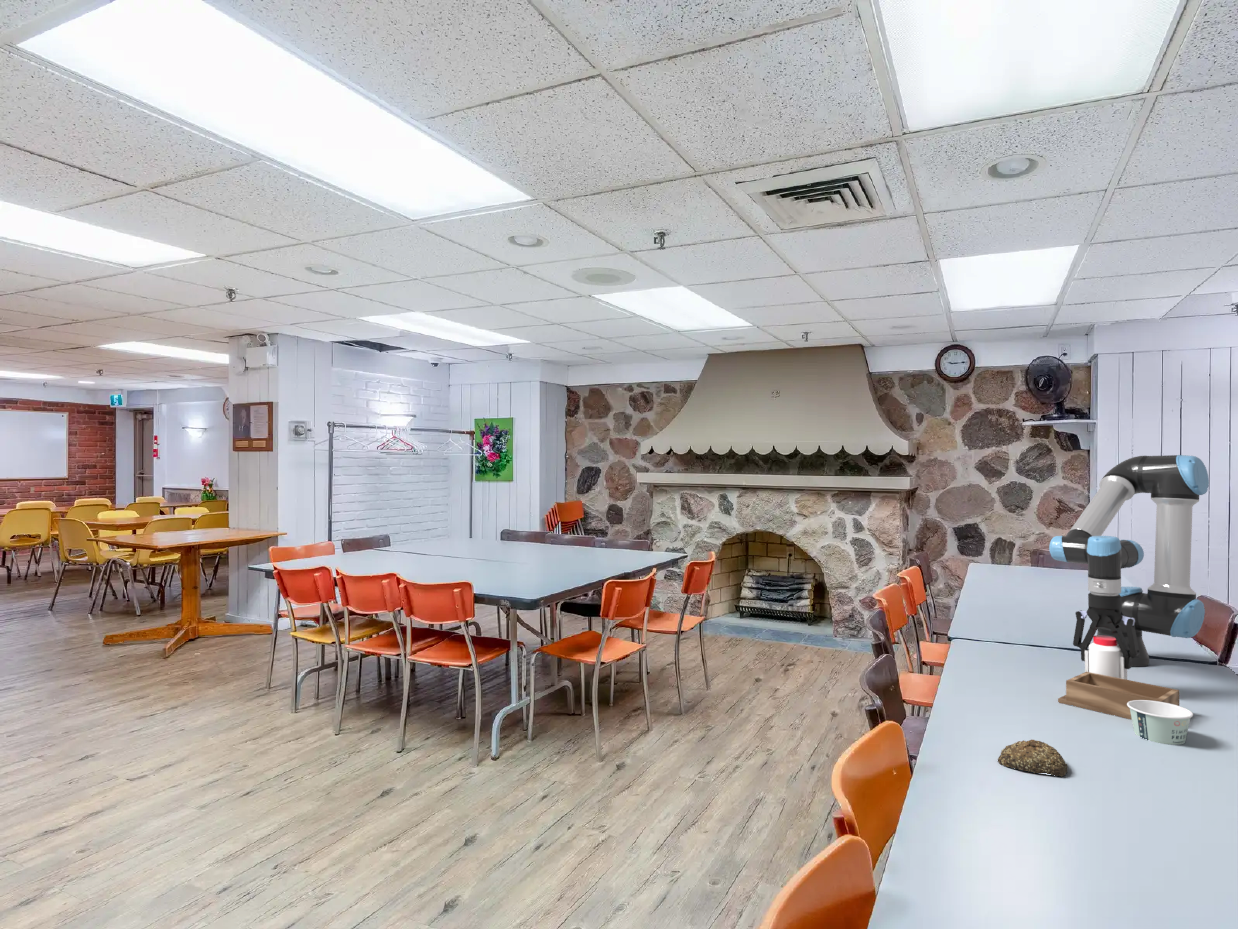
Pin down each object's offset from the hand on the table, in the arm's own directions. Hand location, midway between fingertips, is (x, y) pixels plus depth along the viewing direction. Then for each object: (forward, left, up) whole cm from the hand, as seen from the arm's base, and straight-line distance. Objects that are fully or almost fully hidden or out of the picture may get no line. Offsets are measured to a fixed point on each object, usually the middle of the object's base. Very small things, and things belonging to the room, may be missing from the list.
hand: (1105, 676), depth 197 cm
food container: (+29, +20, -4) cm, 35 cm away
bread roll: (+67, +9, -4) cm, 67 cm away
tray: (+14, +8, -4) cm, 16 cm away
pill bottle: (0, 0, 0) cm, 0 cm away
